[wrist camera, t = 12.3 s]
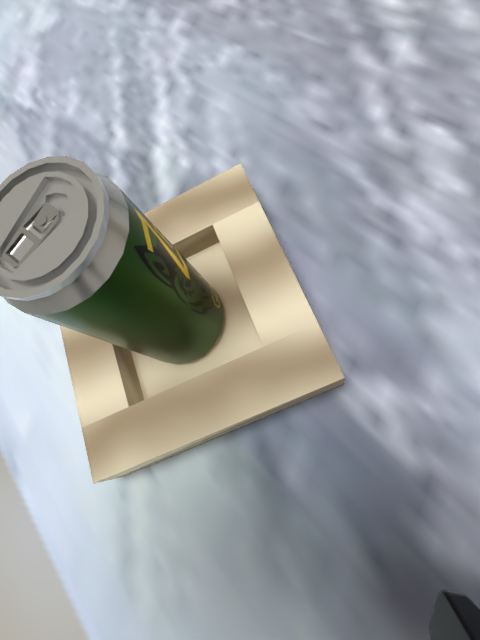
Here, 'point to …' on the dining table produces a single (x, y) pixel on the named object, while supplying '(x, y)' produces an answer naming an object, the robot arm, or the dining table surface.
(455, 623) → the robot arm
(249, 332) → the birch tray
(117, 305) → the beer can
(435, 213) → the dining table surface
